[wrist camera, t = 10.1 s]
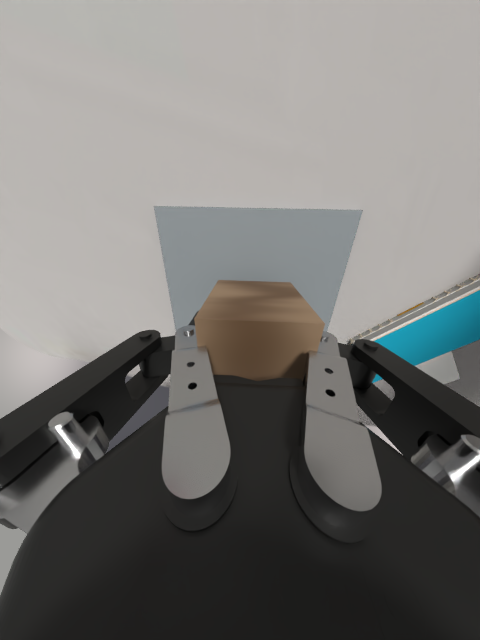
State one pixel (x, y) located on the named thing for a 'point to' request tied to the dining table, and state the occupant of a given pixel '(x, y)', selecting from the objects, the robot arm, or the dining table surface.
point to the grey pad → (254, 252)
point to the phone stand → (433, 331)
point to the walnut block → (257, 329)
